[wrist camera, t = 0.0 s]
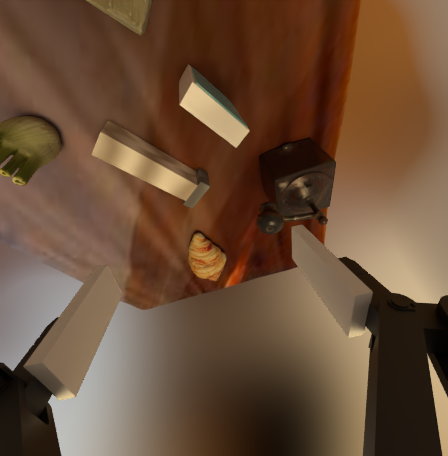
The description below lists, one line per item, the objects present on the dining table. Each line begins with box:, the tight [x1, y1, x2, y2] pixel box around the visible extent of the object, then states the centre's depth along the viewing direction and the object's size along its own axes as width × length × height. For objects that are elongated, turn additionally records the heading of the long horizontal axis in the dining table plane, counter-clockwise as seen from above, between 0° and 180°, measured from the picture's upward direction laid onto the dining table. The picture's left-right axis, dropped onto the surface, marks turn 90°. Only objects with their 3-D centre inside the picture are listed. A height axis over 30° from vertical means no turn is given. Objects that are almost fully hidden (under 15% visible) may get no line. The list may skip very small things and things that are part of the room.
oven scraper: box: [92, 120, 210, 209], centre depth 36 cm, size 18×6×5 cm, turn 51°
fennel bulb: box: [0, 116, 61, 186], centre depth 27 cm, size 6×5×12 cm
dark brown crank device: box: [257, 138, 336, 234], centre depth 37 cm, size 16×11×18 cm
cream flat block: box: [179, 64, 249, 147], centre depth 27 cm, size 3×8×12 cm, turn 51°
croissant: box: [189, 233, 226, 281], centre depth 57 cm, size 21×10×8 cm, turn 12°
